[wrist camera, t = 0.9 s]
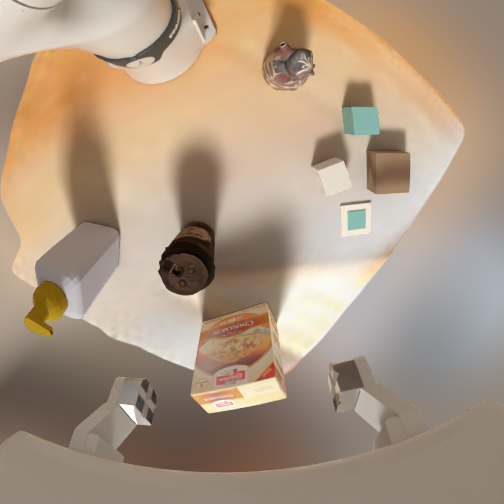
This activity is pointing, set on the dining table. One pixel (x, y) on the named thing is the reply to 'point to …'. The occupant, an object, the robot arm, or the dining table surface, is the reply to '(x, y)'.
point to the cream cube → (331, 176)
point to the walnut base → (388, 171)
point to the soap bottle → (73, 275)
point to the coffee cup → (189, 260)
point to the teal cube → (361, 120)
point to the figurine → (288, 67)
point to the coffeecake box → (239, 361)
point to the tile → (355, 219)
